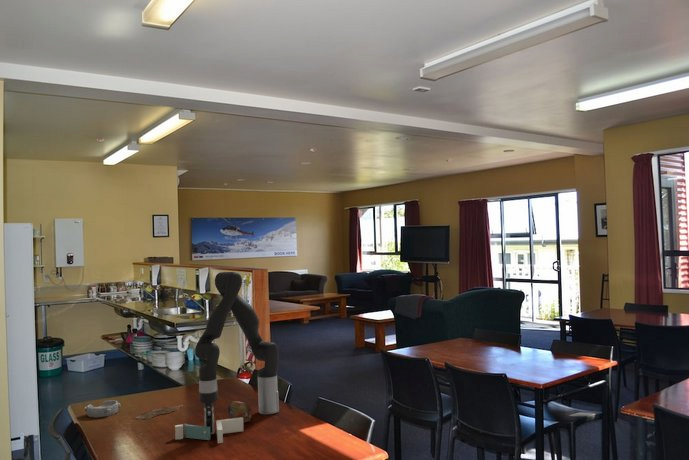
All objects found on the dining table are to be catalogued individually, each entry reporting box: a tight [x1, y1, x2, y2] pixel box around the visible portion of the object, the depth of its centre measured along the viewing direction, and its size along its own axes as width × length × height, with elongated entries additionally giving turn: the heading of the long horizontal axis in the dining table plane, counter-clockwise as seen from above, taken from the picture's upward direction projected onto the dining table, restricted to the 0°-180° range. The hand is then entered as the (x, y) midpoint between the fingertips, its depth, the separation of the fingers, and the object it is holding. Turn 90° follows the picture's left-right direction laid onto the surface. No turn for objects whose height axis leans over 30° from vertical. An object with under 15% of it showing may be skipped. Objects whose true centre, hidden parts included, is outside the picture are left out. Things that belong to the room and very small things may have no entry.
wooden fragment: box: [134, 404, 184, 420], centre depth 260 cm, size 26×11×1 cm, turn 137°
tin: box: [227, 400, 253, 424], centre depth 244 cm, size 15×3×8 cm, turn 47°
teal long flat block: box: [183, 423, 211, 441], centre depth 221 cm, size 13×2×5 cm, turn 69°
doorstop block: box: [203, 413, 215, 435], centre depth 225 cm, size 4×4×7 cm
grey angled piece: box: [174, 417, 244, 444], centre depth 221 cm, size 28×13×5 cm, turn 106°
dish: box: [84, 399, 122, 418], centre depth 261 cm, size 14×14×5 cm
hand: (209, 430), depth 225 cm, fingers closed on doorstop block, 4 cm apart
